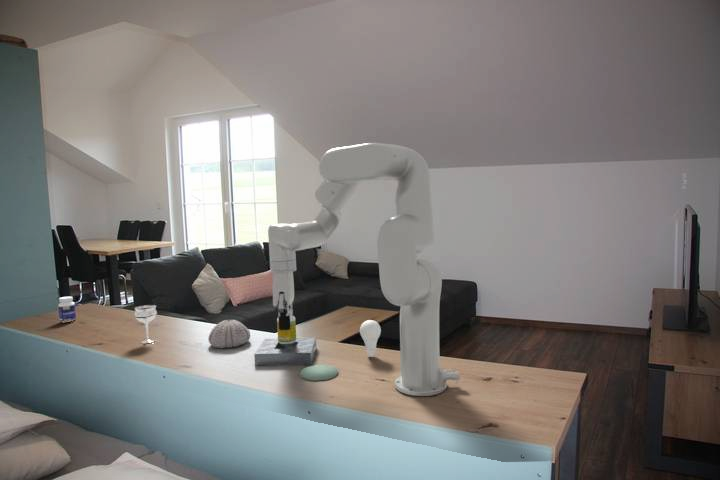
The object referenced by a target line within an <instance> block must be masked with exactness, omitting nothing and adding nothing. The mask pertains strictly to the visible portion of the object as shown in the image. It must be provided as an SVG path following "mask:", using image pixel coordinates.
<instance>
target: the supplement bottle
mask: <svg viewBox="0 0 720 480" xmlns="http://www.w3.org/2000/svg"><path fill="white" fill-rule="evenodd" d="M284 309H286V308H284ZM292 314H293V316H292ZM289 316H290V330H279V319H278V317H277V318H276V326H277V339H278V342H279V343H280V344H291V343H294V342H296V338H297V323H296V317H295V316H294V310H292V309H291V308H289Z"/></svg>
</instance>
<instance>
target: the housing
mask: <svg viewBox="0 0 720 480" xmlns="http://www.w3.org/2000/svg"><path fill="white" fill-rule="evenodd" d="M316 351H317V337H296V342H294V343H291V344H280V343H279V342H278V338H264V339H263V341H262V342H261V343H260V345H259V347H258V348H257V349H256V351H255V352H254V353H253V354H254V355H253V356H254V366H255V367H256V366H257V367H266V366H267V367H268V366H272V367H273V366H304V365H305V366H309V365H310V366H312V363H313V360H314V357H315V354H316Z"/></svg>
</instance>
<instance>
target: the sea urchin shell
mask: <svg viewBox="0 0 720 480" xmlns="http://www.w3.org/2000/svg"><path fill="white" fill-rule="evenodd" d="M250 339H251V332H250V329H249V328H248V327H247V326H245V324H243V322H241V321H239V320H237V319H224V320H222V321H220V322H218V323H217V324H216V325H215V326H214V327H213V328H211V331H210V332H209V335H208V339H207V340H208V343H209V345H211V347H214V348H218V349H220V348H221V349H225V348H228V349H229V348H232V347H233V348H234V347H235V348H236V347H238V346H242V345H245V343H248V342H249V341H250Z"/></svg>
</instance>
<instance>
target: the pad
mask: <svg viewBox="0 0 720 480" xmlns="http://www.w3.org/2000/svg"><path fill="white" fill-rule="evenodd" d="M338 373H339V370H338V368H337V367H336V366H334V365H331V364H330V365H329V364H316V365H310V366H309V365H308V366H307V367H304V368H302V370H300V377H301V378H302V379H304V380H306V381H310V382H313V381H314V382H322V381H327V380H332V379H333V378H335V377H336V376H338Z"/></svg>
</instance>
